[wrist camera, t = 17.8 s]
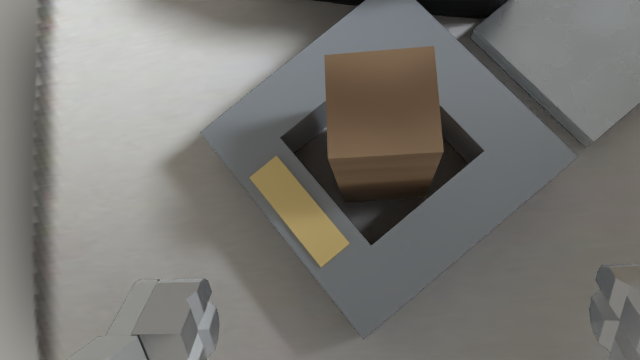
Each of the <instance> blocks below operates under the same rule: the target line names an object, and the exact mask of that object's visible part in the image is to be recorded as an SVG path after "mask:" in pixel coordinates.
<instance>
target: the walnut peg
mask: <svg viewBox="0 0 640 360" xmlns="http://www.w3.org/2000/svg"><path fill="white" fill-rule="evenodd" d="M324 59H325V89H326V120H327V150H328V161H329V163H330V166H331V169H332V171H333V174H334V176H335V179H336V182H337V184H338V187H339V190H340V192H341V195H342V197H343V200H344V202H355V201H375V200H395V199H415V198H425V196H426V194H427V191H428V189H429V187H430V184H431V182H432V179H433V177H434V174H435V172H436V170H437V167H438V165H439V162H440V160H441V157H442V155H443V153H444V149H443V138H442V126H441V115H440V104H439V93H438V82H437V71H436V59H435V48H434V46H427V47H415V48H403V49H391V50H379V51H366V52H354V53H342V54H330V55H324Z"/></svg>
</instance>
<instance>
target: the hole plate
mask: <svg viewBox="0 0 640 360" xmlns="http://www.w3.org/2000/svg"><path fill="white" fill-rule="evenodd" d="M427 46H434V48H435V59H436V71H437V82H438V93H439V104H440V115H441V126H442V137H443V138H444V139H445V140H446V141H447V142H448V143H449V144H450V145H451V146H452V147H453V148H454V149H455V150H456V151H457V152H458V153H459V154H460V155H461V156H462V157H463V159H464V160H465V161H466V162H467V163H468V165H467V166H466V167H465V168H463V169H462V170H461V171H460V172H459V173H457V174H456V175H455V176H454V177H453V178H451V179H450V180H449V181H448V182H447V183H446V184H444V185H443V186H442V187H441V188H440V189H438V190H437V191H436V192H435V193H434V194H432V195H431V196H430V197H429V198H428V199H426V200H425V201H424V202H423V203H422V204H420V205H419V206H418V207H417V208H416V209H414V210H413V211H412V212H411V213H410V214H408V215H407V216H406V217H405V218H404V219H403V220H401V221H400V222H399V223H398V224H397V225H395V226H394V227H393V228H392V229H391V230H389V231H388V232H387V233H386V234H385V235H383V236H382V237H381V238H380V239H379V240H377V241H376V242H375V243H374V244H373V245H370V244H369V243H368V241H367V240H366V239H365V238H364V237H363V235H362V234H361V233H360V232H359V231H358V230H357V228H356V227H355V226H354V225H353V224H352V222H351V221H350V220H349V219H348V218H347V217H346V215H345V214H344V213H343V212H342V211H341V209H340V208H339V207H338V206H337V205H336V203H335V202H334V201H333V200H332V199H331V198H330V196H329V195H328V194H327V193H326V192H325V190H324V189H323V188H322V187H321V186H320V185H319V183H318V182H317V181H316V180H315V179H314V177H313V176H312V175H311V174H310V173H309V171H308V170H307V169H306V168H305V167H304V166H303V164H302V163H301V162H300V161H299V160H298V158H297V157H296V156H295V155H294V153H295V152H296V151H297V150H299V149H300V148H301V147H302V146H304V145H305V144H306V143H307V142H308V141H310V140H311V139H312V138H313V137H315V136H316V135H317V134H318V133H319V132H321V131H322V130H323V129H324V128H326V127H327V120H326V89H325V59H324V55H330V54H342V53H354V52H366V51H379V50H391V49H403V48H415V47H427ZM200 133H201V135H202V136H203V137H204V138H205V140H206V141H207V142H208V144H209V145H210V146H211V147H212V149H213V150H214V151H215V152H216V154H217V155H218V156H219V157H220V159H221V160H222V161H223V162H224V164H225V165H226V166H227V168H228V169H229V170H230V171H231V173H232V174H233V175H234V176H235V178H236V179H237V180H238V181H239V183H240V184H241V185H242V186H243V188H244V189H245V190H246V192H247V193H248V194H249V195H250V197H251V198H252V199H253V200H254V202H255V203H256V204H257V205H258V207H259V208H260V209H261V211H262V212H263V213H264V214H265V216H266V217H267V218H268V219H269V221H270V222H271V223H272V224H273V226H274V227H275V228H276V229H277V231H278V232H279V233H280V235H281V236H282V237H283V238H284V240H285V241H286V242H287V243H288V245H289V246H290V247H291V248H292V250H293V251H294V252H295V253H296V255H297V256H298V257H299V259H300V260H301V261H302V262H303V264H304V265H305V266H306V267H307V269H308V270H309V271H310V272H311V274H312V275H313V276H314V278H315V279H316V280H317V281H318V283H319V284H320V285H321V286H322V288H323V289H324V290H325V291H326V293H327V294H328V295H329V296H330V298H331V299H332V300H333V302H334V303H335V304H336V305H337V307H338V308H339V309H340V310H341V312H342V313H343V314H344V315H345V317H346V318H347V319H348V320H349V322H350V323H351V324H352V326H353V327H354V328H355V329H356V331H357V332H358V333H359V334H360V336H361V337H362V338H363V339H365V338H366V337H367V336H368V335H369V334H371V333H372V332H373V331H374V330H375V329H376V328H378V327H379V326H380V325H381V324H382V323H384V322H385V321H386V320H387V319H388V318H389V317H391V316H392V315H393V314H394V313H395V312H396V311H398V310H399V309H400V308H401V307H402V306H404V305H405V304H406V303H407V302H408V301H409V300H411V299H412V298H413V297H414V296H415V295H416V294H418V293H419V292H420V291H421V290H422V289H424V288H425V287H426V286H427V285H428V284H429V283H431V282H432V281H433V280H434V279H435V278H436V277H438V276H439V275H440V274H441V273H442V272H443V271H445V270H446V269H447V268H448V267H449V266H451V265H452V264H453V263H454V262H455V261H456V260H458V259H459V258H460V257H461V256H462V255H463V254H465V253H466V252H467V251H468V250H469V249H471V248H472V247H473V246H474V245H475V244H476V243H478V242H479V241H480V240H481V239H482V238H483V237H485V236H486V235H487V234H488V233H489V232H491V231H492V230H493V229H494V228H495V227H496V226H498V225H499V224H500V223H501V222H502V221H503V220H505V219H506V218H507V217H508V216H509V215H511V214H512V213H513V212H514V211H515V210H516V209H518V208H519V207H520V206H521V205H522V204H523V203H525V202H526V201H527V200H528V199H529V198H531V197H532V196H533V195H534V194H535V193H536V192H538V191H539V190H540V189H541V188H542V187H543V186H545V185H546V184H547V183H548V182H549V181H551V180H552V179H553V178H554V177H555V176H556V175H558V174H559V173H560V172H561V171H562V170H563V169H565V168H566V167H567V166H568V165H569V164H571V163H572V162H573V161H574V160H575V159H576V158H578V156H577V155H576V154H575V153H574V152H573V151H572V150H571V149H570V148H569V147H568V146H567V145H566V144H565V143H564V142H563V141H562V140H561V139H559V138H558V137H557V136H556V135H555V134H554V133H553V132H552V131H551V130H550V129H549V128H548V127H547V126H546V125H545V124H544V123H543V122H542V121H541V120H540V119H539V118H538V117H537V116H536V115H535V114H534V113H532V112H531V111H530V110H529V109H528V108H527V107H526V106H525V105H524V104H523V103H522V102H521V101H520V100H519V99H518V98H517V97H516V96H515V95H514V94H513V93H512V92H511V91H510V90H509V89H508V88H507V87H505V86H504V85H503V84H502V83H501V82H500V81H499V80H498V79H497V78H496V77H495V76H494V75H493V74H492V73H491V72H490V71H489V70H488V69H487V68H486V67H485V66H484V65H483V64H482V63H481V62H480V61H479V60H477V59H476V58H475V57H474V56H473V55H472V54H471V53H470V52H469V51H468V50H467V49H466V48H465V47H464V46H463V45H462V44H461V43H460V42H459V41H458V40H457V39H456V38H455V37H454V36H453V35H452V34H450V33H449V32H448V31H447V30H446V29H445V28H444V27H443V26H442V25H441V24H440V23H439V22H438V21H437V20H436V19H435V18H434V17H433V16H432V15H431V14H430V13H429V12H428V11H427V10H426V9H425V8H423V7H422V6H421V5H420V4H419V3H418V2H417V1H416V0H365V1H364V2H362V3H361V4H360V5H359V6H357V7H356V8H355V9H354V10H352V11H351V12H350V13H349V14H347V15H346V16H345V17H344V18H342V19H341V20H340V21H339V22H337V23H336V24H335V25H334V26H332V27H331V28H330V29H329V30H327V31H326V32H325V33H324V34H322V35H321V36H320V37H319V38H317V39H316V40H315V41H314V42H312V43H311V44H310V45H309V46H307V47H306V48H305V49H304V50H302V51H301V52H300V53H299V54H297V55H296V56H295V57H294V58H292V59H291V60H290V61H289V62H287V63H286V64H285V65H284V66H282V67H281V68H280V69H279V70H277V71H276V72H275V73H274V74H272V75H271V76H270V77H269V78H267V79H266V80H265V81H264V82H262V83H261V84H260V85H259V86H257V87H256V88H255V89H254V90H252V91H251V92H250V93H249V94H247V95H246V96H245V97H244V98H242V99H241V100H240V101H239V102H237V103H236V104H235V105H234V106H232V107H231V108H230V109H229V110H227V111H226V112H225V113H224V114H222V115H221V116H220V117H219V118H217V119H216V120H215V121H214V122H212V123H211V124H210V125H209V126H207V127H206V128H205V129H204V130H202V131H201V132H200Z"/></svg>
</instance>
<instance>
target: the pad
mask: <svg viewBox="0 0 640 360" xmlns="http://www.w3.org/2000/svg"><path fill="white" fill-rule="evenodd" d="M471 39H472V40H473V41H474V42H475V43H476V44H477V45H478V46H479V47H480V48H481V49H482V50H484V51H485V52H486V53H487V54H488V55H489V56H490V57H491V58H492V59H493V60H494V61H495V62H496V63H497V64H498V65H499V66H500V67H501V68H502V69H503V70H505V71H506V72H507V73H508V74H509V75H510V76H511V77H512V78H513V79H514V80H515V81H516V82H517V83H518V84H519V85H520V86H521V87H522V88H523V89H524V90H526V91H527V92H528V93H529V94H530V95H531V96H532V97H533V98H534V99H535V100H536V101H537V102H538V103H539V104H540V105H541V106H542V107H543V108H544V109H545V110H547V111H548V112H549V113H550V114H551V115H552V116H553V117H554V118H555V119H556V120H557V121H558V122H559V123H560V124H561V125H562V126H563V127H564V128H565V129H566V130H568V131H569V132H570V133H571V134H572V135H573V136H574V137H575V138H576V139H577V140H578V141H579V142H580V143H581V144H582V145H583V146H584V147H585V148H586V147H588V146H589V145H590V144H592V143H593V142H594V141H595V140H597V139H598V138H599V137H600V136H601V135H602V134H604V133H605V132H606V131H607V130H608V129H610V128H611V127H612V126H613V125H614V124H615V123H617V122H618V121H619V120H620V119H621V118H622V117H624V116H625V115H626V114H627V113H628V112H630V111H631V110H632V109H633V108H634V107H635V106H637V105H638V104H639V103H640V0H508V1H507V2H506V3H505V4H504V5H502V6H501V7H500V8H499V9H497V10H496V11H495V12H494V13H492V14H491V15H490V16H489V17H488V18H486V19H485V20H484V21H483V22H481V23H480V24H479V25H478V26H477V27H475V28H474V30H473V33H472V36H471Z"/></svg>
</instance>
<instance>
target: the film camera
mask: <svg viewBox="0 0 640 360" xmlns="http://www.w3.org/2000/svg"><path fill="white" fill-rule="evenodd" d="M316 1H325V2H333V3H340V4H348V5H357V6H359V5H360V4H361V3H362V2H364V1H365V0H316ZM416 1H417V2H418V3H419V4H420V5H421V6H422V7H423V8H425V9H426V10H427V11H428V12H429V13H430V14H431V15H442V16H452V17H466V18H487V17H489V16H490V15H491V14H492V13H494V12H495V11H496V10H497V9H499V8H500V7H501V6H502V5H504V4H505V3H506V2H507V1H508V0H416Z"/></svg>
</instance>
